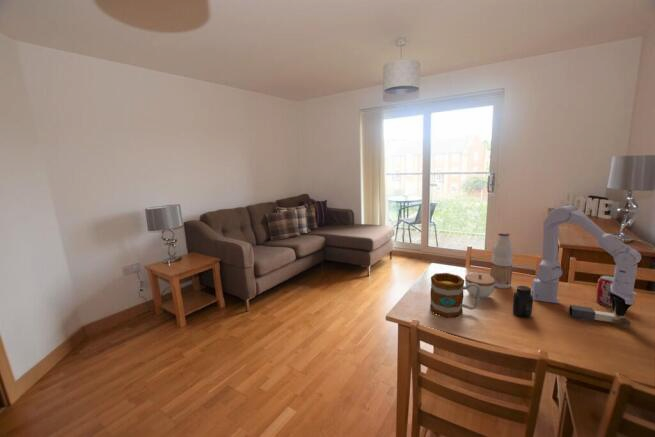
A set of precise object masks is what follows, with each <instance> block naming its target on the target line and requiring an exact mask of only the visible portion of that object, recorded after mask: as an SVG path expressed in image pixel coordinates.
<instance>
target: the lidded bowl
mask: <svg viewBox="0 0 655 437" xmlns="http://www.w3.org/2000/svg"><path fill="white" fill-rule="evenodd" d="M464 280H465V281H464V286H467V285H468V284H470V283H475V284H477V285H479V288H480V294H479V300H486V299H488V298H489V297H490V296H491V295H492V294H493V293H494V289H495V287H494V284H495V279H494V278H493V277H491V276H490V275H489V274H485V273H478V272H477V273H476V272H471V273H467V274H466V275H465V277H464ZM466 291H467V293H468V294H470V296H471V297H472V298H474V299H476V294H477V287H475V286H471V287H470V288H468V289H466Z"/></svg>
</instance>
